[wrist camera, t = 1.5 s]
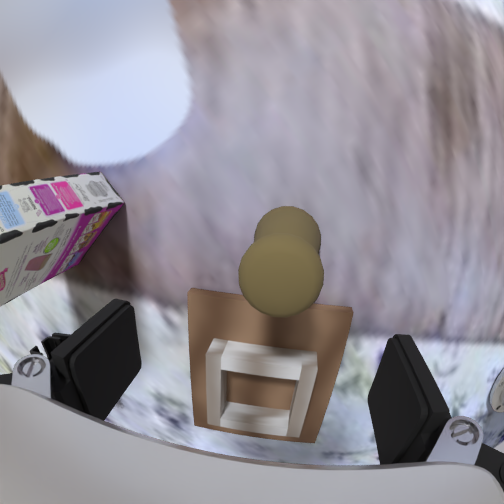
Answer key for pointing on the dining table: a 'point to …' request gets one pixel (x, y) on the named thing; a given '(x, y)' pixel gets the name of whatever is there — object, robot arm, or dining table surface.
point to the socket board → (263, 366)
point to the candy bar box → (50, 227)
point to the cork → (283, 263)
